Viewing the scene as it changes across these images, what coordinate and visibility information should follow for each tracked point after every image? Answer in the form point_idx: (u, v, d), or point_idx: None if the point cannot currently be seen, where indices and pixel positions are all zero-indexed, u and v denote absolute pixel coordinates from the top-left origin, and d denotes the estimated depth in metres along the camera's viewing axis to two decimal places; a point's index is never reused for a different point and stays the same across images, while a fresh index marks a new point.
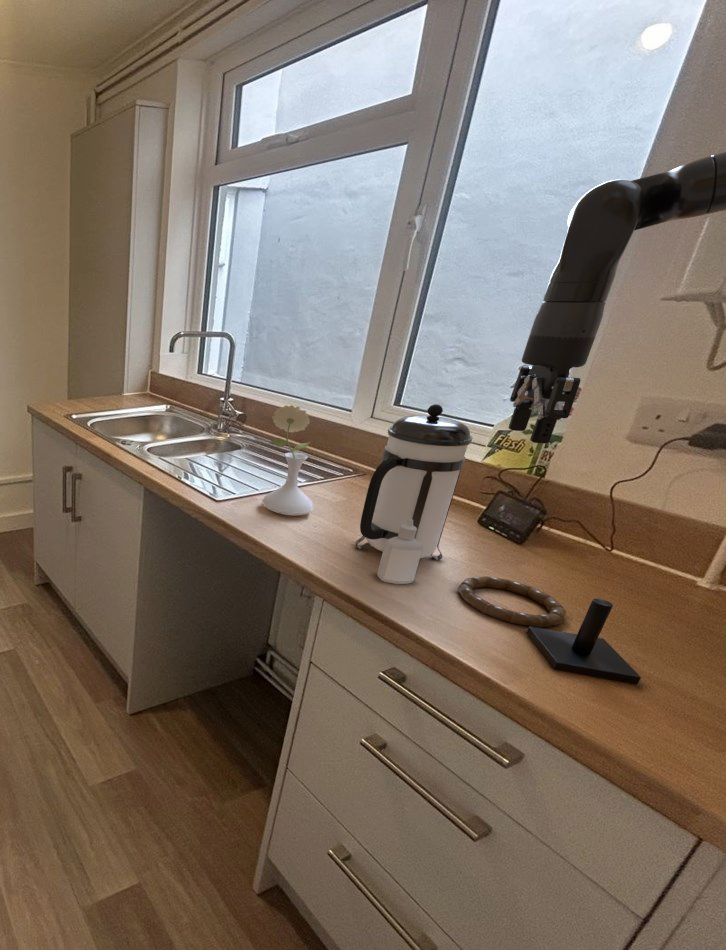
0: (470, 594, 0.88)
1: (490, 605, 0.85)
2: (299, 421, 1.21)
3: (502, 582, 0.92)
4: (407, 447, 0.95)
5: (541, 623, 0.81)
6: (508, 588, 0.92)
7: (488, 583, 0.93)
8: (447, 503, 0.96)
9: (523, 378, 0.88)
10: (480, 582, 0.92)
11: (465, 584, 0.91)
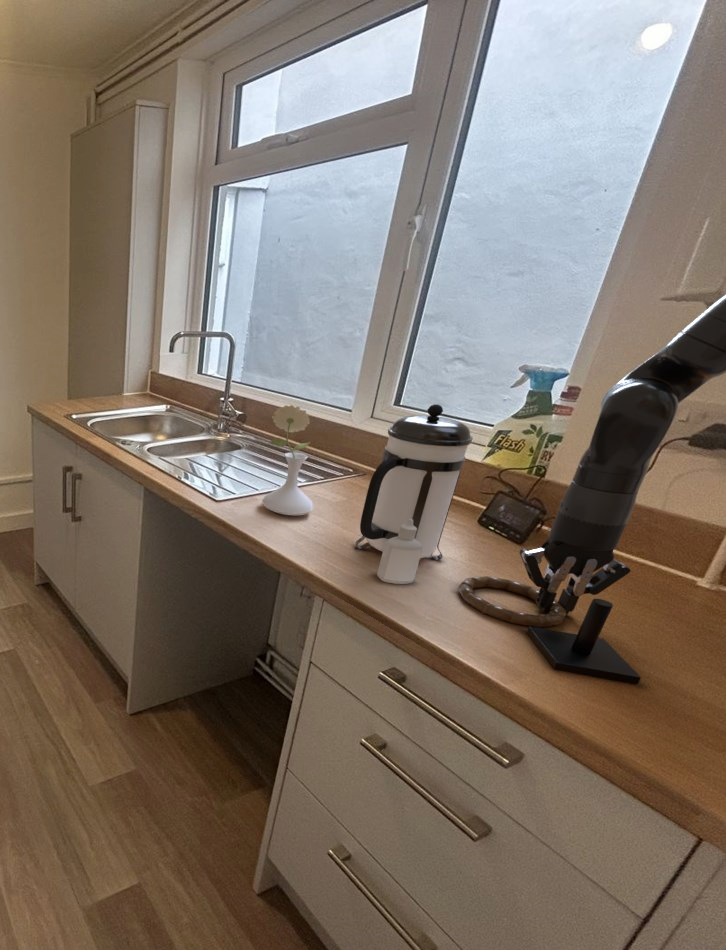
0: (470, 594, 0.88)
1: (490, 605, 0.85)
2: (299, 421, 1.21)
3: (502, 582, 0.92)
4: (407, 447, 0.95)
5: (541, 623, 0.81)
6: (508, 588, 0.92)
7: (488, 583, 0.93)
8: (447, 503, 0.96)
9: None
10: (480, 582, 0.92)
11: (465, 584, 0.91)
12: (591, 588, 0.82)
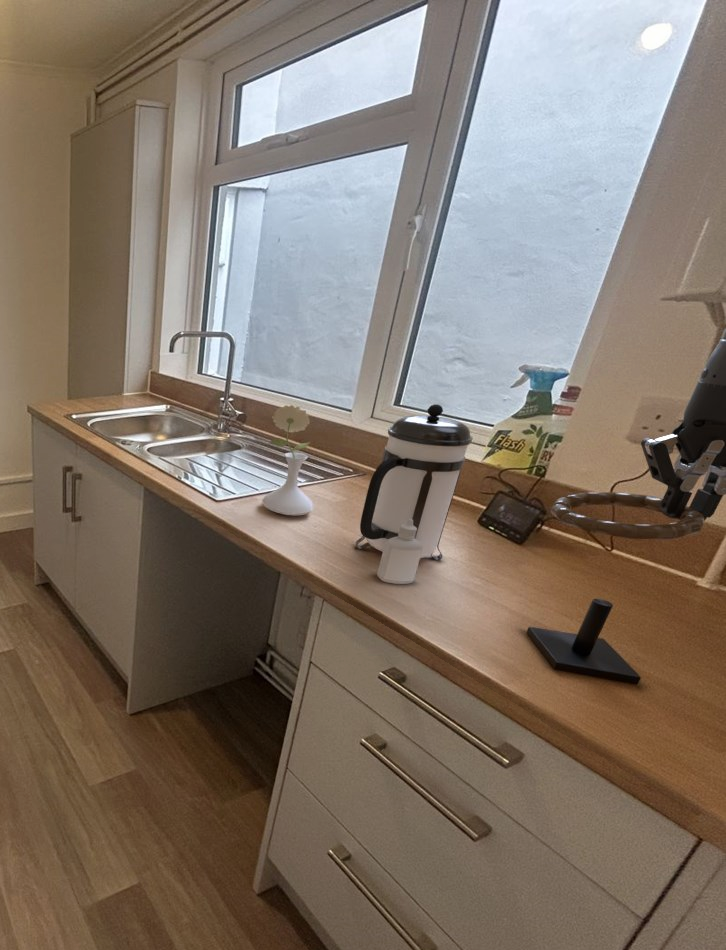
0: (569, 513, 0.70)
1: (600, 521, 0.67)
2: (299, 421, 1.20)
3: (607, 496, 0.74)
4: (407, 447, 0.95)
5: (675, 532, 0.63)
6: (616, 502, 0.73)
7: (589, 500, 0.74)
8: (447, 503, 0.96)
9: None
10: (578, 500, 0.74)
11: (559, 503, 0.73)
12: None
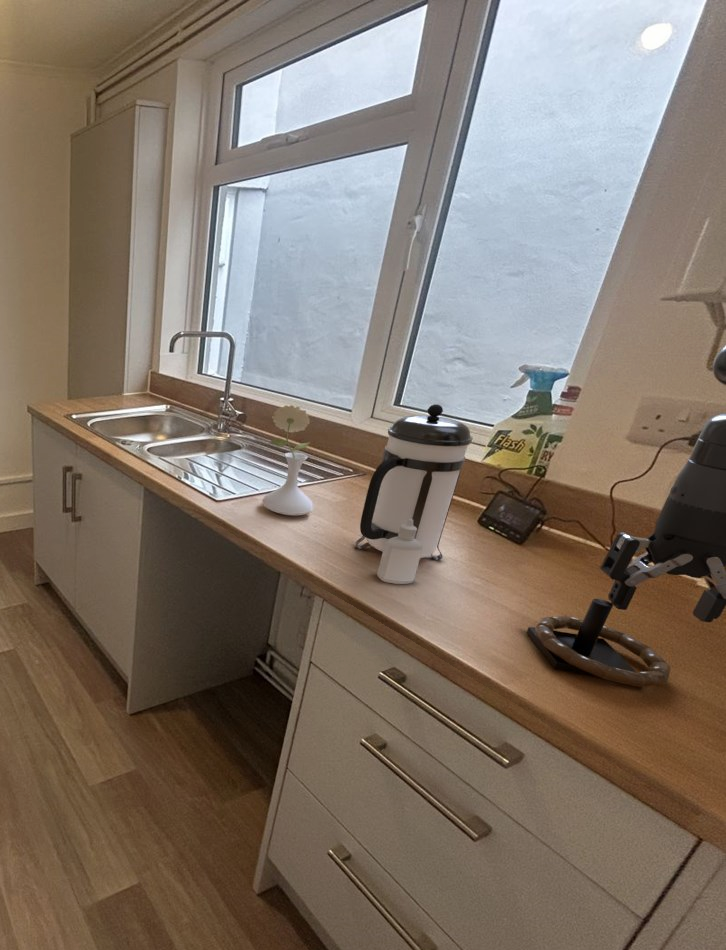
0: (552, 639, 0.74)
1: (579, 656, 0.71)
2: (299, 421, 1.20)
3: None
4: (407, 447, 0.95)
5: (643, 682, 0.68)
6: None
7: (571, 625, 0.79)
8: (447, 503, 0.96)
9: None
10: (561, 623, 0.78)
11: (544, 625, 0.77)
12: None
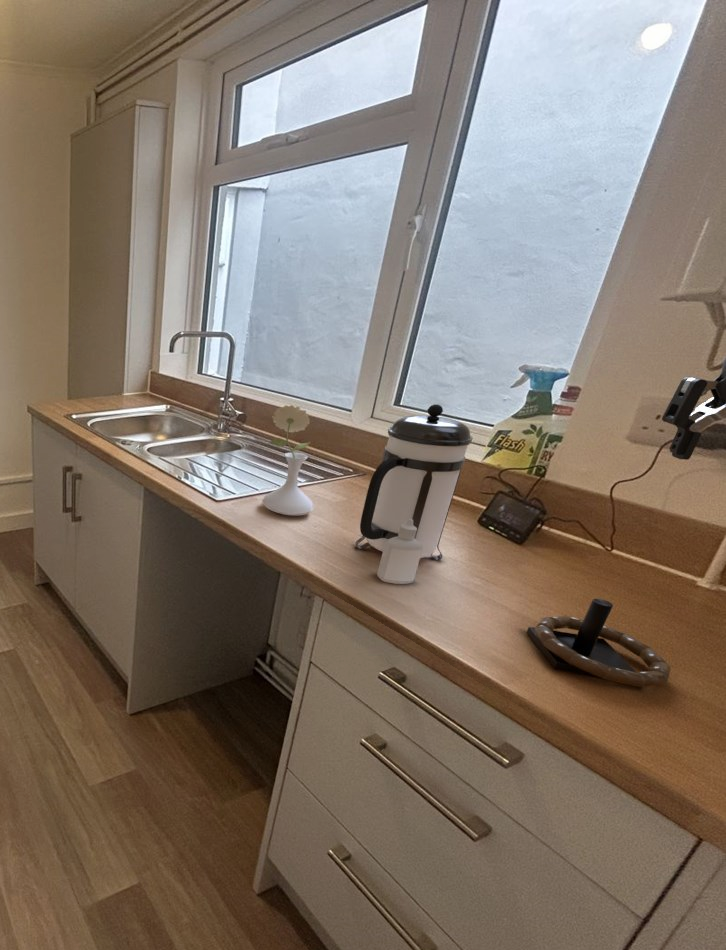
0: (552, 639, 0.74)
1: (579, 656, 0.71)
2: (299, 421, 1.21)
3: None
4: (407, 447, 0.95)
5: (643, 682, 0.68)
6: None
7: (571, 625, 0.79)
8: (447, 503, 0.96)
9: None
10: (561, 623, 0.78)
11: (544, 625, 0.77)
12: None
